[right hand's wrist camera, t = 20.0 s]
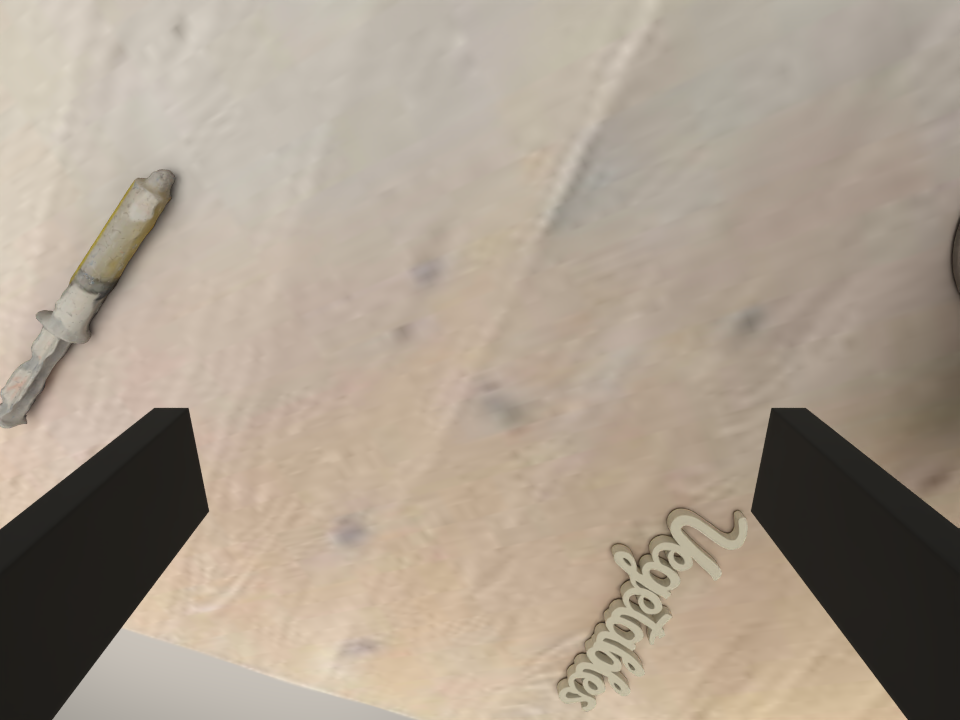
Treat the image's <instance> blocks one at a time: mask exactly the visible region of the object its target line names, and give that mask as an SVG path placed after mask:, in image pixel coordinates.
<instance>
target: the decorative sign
mask: <svg viewBox="0 0 960 720" xmlns="http://www.w3.org/2000/svg"><path fill="white" fill-rule="evenodd" d="M734 523H735V525H734V529H733V531H732V532H731V533H728V534H727V533H723V532H721V531H720V530H718V529H717V528H715V527H714V526H713V525H711V524H710V523H709V522H707V521H706V520H704V519H703V518H702V517H700V516H699V515H697V514H696V513H694V512H692V511H690V510H687V509H676V510H674V511H672V512H671V513H670V514H669V516H668V518H667V525H668V528H669V530H670V532H671V534H672V536H673V537H670V536H665V535H660V536H657V537H655V538H654V539H653V540H652V541H651V542H650V544H649V551H650V553H651V555H644V556H643V557H641V559H640V561H639V566H640V568H639V567H637V566H636V562H635V559H634V557H633V554H632V552H631V551H630V549H629V548H628V547H626V546H624V545H621V544H616V545H614V546H613V547H612V554H613V557H614V560H615V562H616V563H617V565H619V566H620V567H621V568H622V569H623V570H624V571H625V572H626V573H628V575H629V578H630V580H629V581H627V582H625V583H624V584H623V585H622V586H621V589H620V593H621V596H622V599H623V600H622V599H617V600H614V601H613V602H612V603H611V604H610V606H609V609H607V610H606V611H605V612H604V620H605V623H600V624H598V625H597V626H596V627H595V631H594V634H593V635H592V638H591V639H589V640H587V641H586V642H585V648H586V653H587V654H579V655H577V656H576V657H575V659H574V664H573V665H571V666H570V667H569V668H568V670H567V679H563V680H561V681H560V682H559V683H558V686H557V689H558V696H559V699H560V700H561V701H562V702H563V703H566V704H572V703H577V702H581V706H582V710H583V711H591V710H592V709H594V708H595V706H596V699H595V695H600V694H603V693H604V692H605V684H604V680H603V676H602V675H604V676H606V677H607V678H608V681H609V684H610V685H611V687H612V688H613V689H614V690H615V691H616V692H617V693H618V694H619V695H621V696H627V695H629V694H630V688H629V684H628V681H627V679H626V678H625V677H624V675H623V674H622V673H621V672H620V670H621V668H622V665H621V661H620V657H619V656H621V658H622V661H623V664H624V665H625V667H626V668H627V669H628V670H629V671H630V672H631V673H632V674H634V675H635V676H638V677H641V676H643V675H644V674H645V672H644V668H643V665H642V662H641V660H640V659H639V658H638V656H637V655H636V654H635V653H634V652H633V650H634V649H635V648H636V645H635V643H637V642H640V641H641V640H642V639H643V636H644V635H643V631H642V628H641V625H640V623H639V622H638V621H640V622H641V623H643V624H645V625H646V626H648V627H647V637H648V640H649V643H650V644H651V645H653V644H654V640H655V638H656V636H658V637H659V638H662V637H664V636H665V632H664V630H663V626H664V625H665V624H666V623H667V622H668V621H669V620H670V619H671V618H672V614H671V612H670V609H669V608H667V607H665V606H662V603H661V600H660V598H659V595H660V596H661V597H663V598H665V599H668V597H669V596H670V595H671V592H670V590H673V589H675V588H677V587H678V586H679V584H680V577H679V575H678V573H677V571H686V570H688V569H690V568H691V567H692V565H693V560H692V558H693V559H694V560H695V561H696V562H697V563H698V564H699V565H700V566H701V567H702V568H703V569H704V570H705V571H707V572H708V573H709V574H710V575H711V577H712V578H713V580H714V581H716V580H718V579H719V578H720V577H721V574H722V572H721V569H720V568H719V566H718V564H717V562H716V561H715V560H714V559H713V558H712V557H711V556H710V555H709V554H708V553H707V552H706V551H704V550H703V549H702V548H701V547H700V546H698V545H697V544H696V543H695V542H694V541H693V540H692V539H691V538H690V537H689V536H688V535H687V534H686V533H685V532H684V531H683V530H682V529H681V528H682V527H683V526H686V525H687V526H691V527H693V528H695V529H696V530H698V531H700V532H701V533H702V534H704V535H705V536H706V537H708V538H709V539H710V540H712V541H713V542H715V543H716V544H718V545H719V546H721V547H723V548H725V549H728V550H735V549H738V548H740V547H741V546H742V545H743V543H744V541H745V539H746V536H747V529H748V526H747V520H746V518H745V516H744V515H743V514H742V512H741V511H736V512H734ZM662 550H665V554H666V556H667V558H668V561H669V562H667V561H666V560H664V559H662V558H660V557H658V554H659V552H660V551H662ZM675 552H676V553H678V554H679V555H680V556H681V557H675V556H674V553H675ZM651 569H653V570H658V571H660V572H662V573H664V574H665V575H666V576H667V578H665V579H660V578H658V577H656V576H654V575H653V574H652V573H651V572H650V570H651ZM676 570H677V571H676ZM632 595H636V598H637V601H638V603H639V606H638V605H636V604H634V603H632V602H631V601H630V600H629V598H630V596H632ZM644 597H646V598H648V599H649V600H650V601H646V600H644ZM651 614H654V615H653V616H652V615H651ZM614 624H621V625H624V626H626V627H627V628H629V629H630V630H631V631H629V632H625V631H622V630H621V629H619V628H618V627H616V626H615V625H614ZM599 651H602V652H604V653H605V654H606V655H608V656H606V655H604V654H602V653H600V652H599ZM601 674H602V675H601ZM576 678H582V683H583V686H582V685H580V684H578V683H577V682H576V681H575V679H576Z"/></svg>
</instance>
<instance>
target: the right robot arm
mask: <svg viewBox="0 0 960 720" xmlns="http://www.w3.org/2000/svg"><path fill="white" fill-rule="evenodd" d="M953 272H954V278H955V282H956V285H957V288H958V290H959V293H960V224H959V226H958V229H957V233H956V237H955V241H954V248H953ZM208 512H209V508H208V503H207V498H206V493H205V488H204V483H203V478H202V473H201V468H200V463H199V458H198V453H197V448H196V443H195V438H194V433H193V428H192V423H191V418H190V413H189V408H154V409H152V410H151V411H150V412H149V413H147V414H146V415H145V416H144V417H142V418H141V419H140V420H139V421H137V422H136V423H135V424H133V425H132V426H131V427H130V428H128V429H127V430H126V431H125V432H123V433H122V434H121V435H120V436H118V437H117V438H116V439H114V440H113V441H112V442H111V443H109V444H108V445H107V446H106V447H104V448H103V449H102V450H100V451H99V452H98V453H97V454H95V455H94V456H93V457H92V458H90V459H89V460H88V461H87V462H85V463H84V464H83V465H81V466H80V467H79V468H78V469H76V470H75V471H74V472H73V473H71V474H70V475H69V476H67V477H66V478H65V479H64V480H62V481H61V482H60V483H59V484H57V485H56V486H55V487H54V488H52V489H51V490H50V491H48V492H47V493H46V494H45V495H43V496H42V497H41V498H40V499H38V500H37V501H36V502H34V503H33V504H32V505H31V506H29V507H28V508H27V509H26V510H24V511H23V512H22V513H21V514H19V515H18V516H17V517H15V518H14V519H13V520H12V521H10V522H9V523H8V524H7V525H5V526H4V527H3V528H1V529H0V720H52V719H53V718H54V717H55V715H56V714H57V713H58V711H59V710H60V709H61V707H62V706H63V705H64V703H65V702H66V700H67V699H68V698H69V697H70V695H71V694H72V693H73V691H74V690H75V689H76V687H77V686H78V685H79V683H80V682H81V681H82V679H83V678H84V677H85V675H86V674H87V673H88V671H89V670H90V669H91V667H92V666H93V665H94V663H95V662H96V661H97V659H98V658H99V657H100V655H101V654H102V653H103V651H104V650H105V649H106V647H107V646H108V645H109V644H110V642H111V641H112V639H113V638H114V637H115V636H116V634H117V633H118V632H119V630H120V629H121V628H122V626H123V625H124V624H125V622H126V621H127V620H128V618H129V617H130V616H131V614H132V613H133V612H134V610H135V609H136V608H137V606H138V605H139V604H140V602H141V601H142V600H143V598H144V597H145V596H146V594H147V593H148V592H149V590H150V589H151V588H152V586H153V585H154V584H155V582H156V581H157V580H158V578H159V577H160V576H161V574H162V573H163V572H164V570H165V569H166V568H167V566H168V565H169V564H170V563H171V561H172V560H173V559H174V557H175V556H176V555H177V553H178V552H179V551H180V549H181V548H182V547H183V545H184V544H185V543H186V541H187V540H188V539H189V537H190V536H191V535H192V533H193V532H194V531H195V529H196V528H197V527H198V525H199V524H200V523H201V521H202V520H203V519H204V517H205V516H206V515H207V513H208ZM751 512H752V513H753V515H754V516H755V517H756V519H757V520H758V521H759V523H760V524H761V525H762V527H763V528H764V529H765V531H766V532H767V533H768V535H769V536H770V537H771V539H772V540H773V541H774V543H775V544H776V545H777V547H778V548H779V549H780V551H781V552H782V553H783V555H784V556H785V557H786V559H787V560H788V561H789V563H790V564H791V565H792V566H793V568H794V569H795V570H796V572H797V573H798V574H799V576H800V577H801V578H802V580H803V581H804V582H805V584H806V585H807V586H808V588H809V589H810V590H811V592H812V593H813V594H814V596H815V597H816V598H817V600H818V601H819V602H820V604H821V605H822V606H823V608H824V609H825V610H826V612H827V613H828V614H829V616H830V617H831V618H832V620H833V621H834V622H835V624H836V625H837V626H838V628H839V629H840V630H841V632H842V633H843V634H844V636H845V637H846V638H847V640H848V641H849V642H850V644H851V645H852V646H853V648H854V649H855V650H856V651H857V653H858V654H859V655H860V657H861V658H862V659H863V661H864V662H865V663H866V665H867V666H868V667H869V669H870V670H871V671H872V673H873V674H874V675H875V677H876V678H877V679H878V681H879V682H880V683H881V685H882V686H883V687H884V689H885V690H886V691H887V693H888V694H889V695H890V697H891V698H892V699H893V701H894V702H895V703H896V705H897V706H898V707H899V709H900V710H901V711H902V713H903V714H904V715H905V717H906V718H907V719H908V720H960V528H957V527H956V526H955V525H953V524H952V523H951V522H950V521H948V520H947V519H946V518H945V517H943V516H942V515H941V514H939V513H938V512H937V511H936V510H934V509H933V508H932V507H931V506H929V505H928V504H927V503H926V502H924V501H923V500H922V499H920V498H919V497H918V496H917V495H915V494H914V493H913V492H912V491H910V490H909V489H908V488H906V487H905V486H904V485H903V484H901V483H900V482H899V481H898V480H896V479H895V478H894V477H893V476H891V475H890V474H889V473H887V472H886V471H885V470H884V469H882V468H881V467H880V466H879V465H877V464H876V463H875V462H873V461H872V460H871V459H870V458H868V457H867V456H866V455H865V454H863V453H862V452H861V451H860V450H858V449H857V448H856V447H854V446H853V445H852V444H851V443H849V442H848V441H847V440H846V439H844V438H843V437H842V436H840V435H839V434H838V433H837V432H835V431H834V430H833V429H832V428H830V427H829V426H828V425H827V424H825V423H824V422H823V421H821V420H820V419H819V418H818V417H816V416H815V415H814V414H813V413H811V412H810V411H809V410H808V409H806V408H771V413H770V418H769V423H768V428H767V433H766V438H765V443H764V448H763V453H762V458H761V463H760V468H759V473H758V478H757V483H756V488H755V493H754V498H753V503H752V508H751Z"/></svg>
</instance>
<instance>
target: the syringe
mask: <svg viewBox="0 0 960 720" xmlns="http://www.w3.org/2000/svg"><path fill="white" fill-rule="evenodd" d="M174 181H175V176H174V174H173V173H172V172H171V171H169V170H163V169H161V170H158V171H155V172H153V173H152V174H151V175H150V176H149V178H137V179H136V180H134V182H133V183H132V185H131V186H130V188H129V189H128V191H127V192H126V194H125V195H124V197H123V199H122V200H121V201H120V203H119V205H118V206H117V208H116V209H115V211H114V212H113V214H112V216H111V217H110V219H109V220H108V222H107V224H106V225H105V226H104V228H103V230H102V231H101V233H100V234H99V236H98V238H97V239H96V241H95V242H94V244H93V245H92V247H91V248H90V250H89V251H88V253H87V254H86V256H85V257H84V259H83V261H82V262H81V264H80V265H79V267H78V268H77V270H76V271H75V273H74V274H73V276H72V277H71V280H70V283H69V286H68V287H67V289H66V290H65V291H64V292H63V294H62V296H61V298H60V299H59V300H58V301H57V302H56V304H55V309H54V311H47V310H43V311H40V312H38V313H37V314H36V318H37V320H38V321H39V322H40V323H41V324H42V325H43V328H42V330H41V333H40V334H39V336H38V337H37V338H36V340H35V341H34V342H33V345H32V347H31V351H32V358H31V359H30V360H29V361H27V362H25V363H23V364H22V365H20V366H19V367H18V368H17V369H16V370H15V371H14V373H13V374H12V375H11V377H10V378H9V380H8V381H7V383H6V385H5V386H4V388H3V389H2V390H1V392H0V396H1V397H2V400H3V403H1V404H0V427H2V428H11V427H14V426H17V425H20V424H27V420H26V416H27V415H25V414H26V413H27V412H28V411H29V409H30V407H31V406H32V404H33V403H34V402H35V398H36V396H37V395H38V394H40V393H41V392H42V391H43V389H44V387H45V381H46V379H47V377H48V376H49V374H50V372H51V370H52V369H53V367H54V366H55V365H56V363H57V362H58V361H59V360H60V359H61V358H62V357H63V356H64V355H65V353H66V352H67V350H68V349H69V347H70V346H71V344H72V343H75V344H82V343H86V342H87V341H88V340H89V339H90V337H91V332H90V330H89V324H90V322H91V320H92V319H93V317H94V316H95V315H96V314H97V312H98V310H99V308H100V307H101V305H102V304H103V302H104V301H105V299H106V297H107V295H108V294H109V293H110V292H111V291H112V290H113V288H114V287H115V286H116V284H117V282H118V280H119V278H120V276H121V274H122V272H123V271H124V269H125V267H126V265H127V264H128V262H129V260H130V259H131V258H132V256H133V255H134V253H135V252H136V250H137V249H138V247H139V245H140V244H141V242H142V241H143V240H144V238H145V237H146V235H147V234H148V233H149V232H150V231H151V230H152V228H153V227H154V225H155V223H156V221H157V219H158V217H159V215H160V214H161V212H162V211H163V209H164V207H165V205H166V204H167V203H168V202H169V201H170V200H171V198H172V197H171V196H170V189H171V187H172V185H173V183H174Z"/></svg>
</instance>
